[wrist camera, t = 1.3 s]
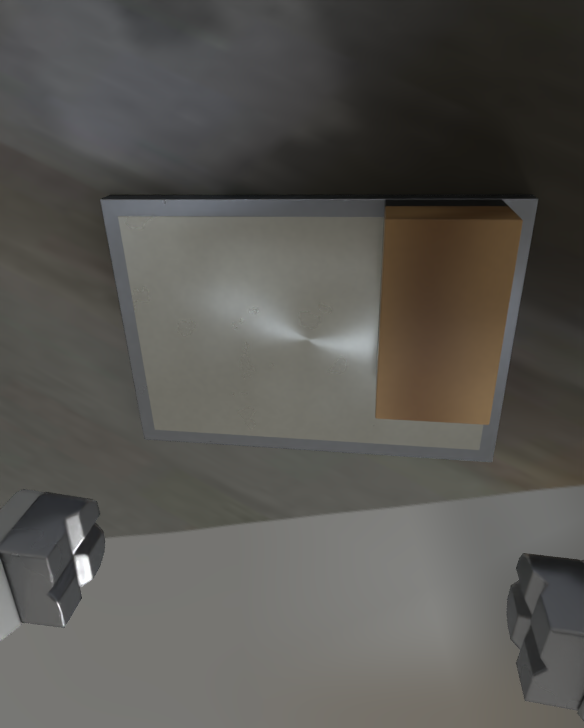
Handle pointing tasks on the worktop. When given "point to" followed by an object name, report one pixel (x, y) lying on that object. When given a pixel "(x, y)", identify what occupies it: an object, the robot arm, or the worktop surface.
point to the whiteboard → (274, 322)
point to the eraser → (443, 307)
